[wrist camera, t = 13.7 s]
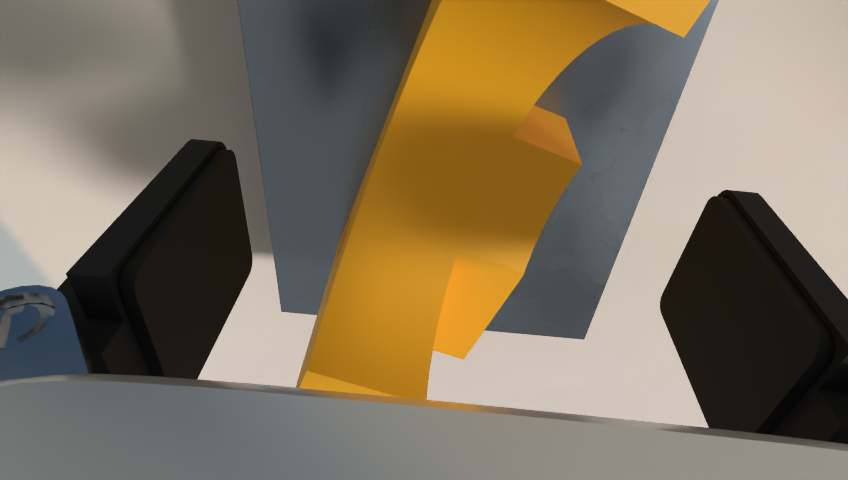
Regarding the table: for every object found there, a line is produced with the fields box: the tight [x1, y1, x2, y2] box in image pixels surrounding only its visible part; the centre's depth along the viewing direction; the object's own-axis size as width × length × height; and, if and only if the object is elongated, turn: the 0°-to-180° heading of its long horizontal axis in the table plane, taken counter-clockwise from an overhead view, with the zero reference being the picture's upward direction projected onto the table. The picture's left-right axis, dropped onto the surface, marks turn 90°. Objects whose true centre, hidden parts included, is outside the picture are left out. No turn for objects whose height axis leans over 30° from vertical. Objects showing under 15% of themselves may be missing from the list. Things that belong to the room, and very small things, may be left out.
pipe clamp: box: [296, 0, 710, 400], centre depth 11 cm, size 12×4×6 cm, turn 158°
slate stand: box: [238, 0, 718, 339], centre depth 15 cm, size 16×11×3 cm
